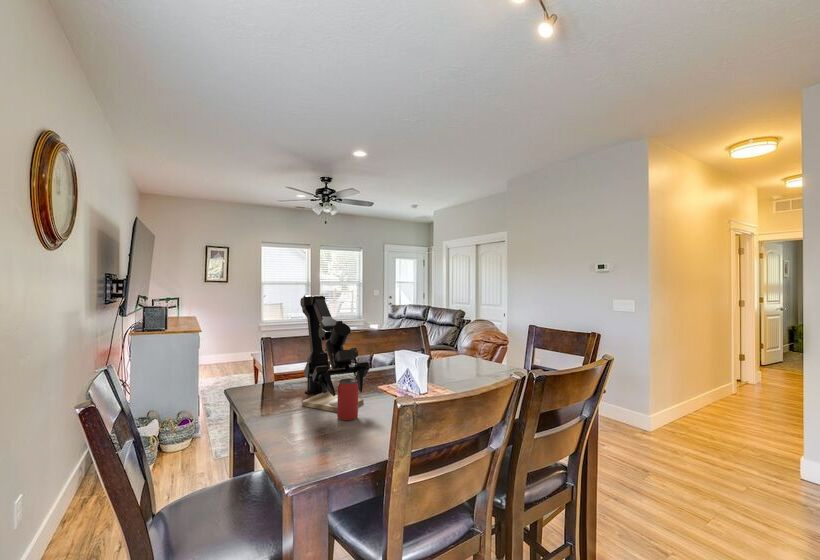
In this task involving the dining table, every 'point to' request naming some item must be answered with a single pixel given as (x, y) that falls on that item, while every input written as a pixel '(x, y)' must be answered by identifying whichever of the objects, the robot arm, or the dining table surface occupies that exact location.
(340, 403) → the beer can
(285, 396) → the dining table surface
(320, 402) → the birch board
